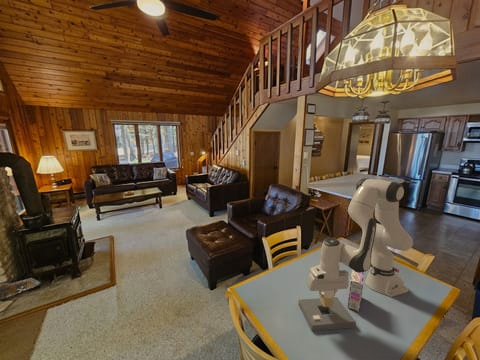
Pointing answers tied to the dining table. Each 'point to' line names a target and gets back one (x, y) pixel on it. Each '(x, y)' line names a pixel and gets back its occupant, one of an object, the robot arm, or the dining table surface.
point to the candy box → (355, 291)
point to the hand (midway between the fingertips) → (326, 296)
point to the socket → (324, 322)
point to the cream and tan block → (327, 298)
